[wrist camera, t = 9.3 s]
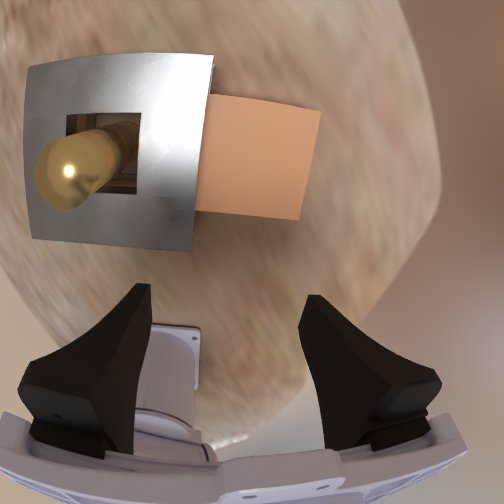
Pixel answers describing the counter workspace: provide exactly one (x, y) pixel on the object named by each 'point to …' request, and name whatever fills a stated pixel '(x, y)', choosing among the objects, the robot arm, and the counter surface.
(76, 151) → the brass pin
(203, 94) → the bracket
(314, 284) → the counter surface
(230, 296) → the counter surface
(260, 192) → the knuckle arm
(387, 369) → the robot arm
